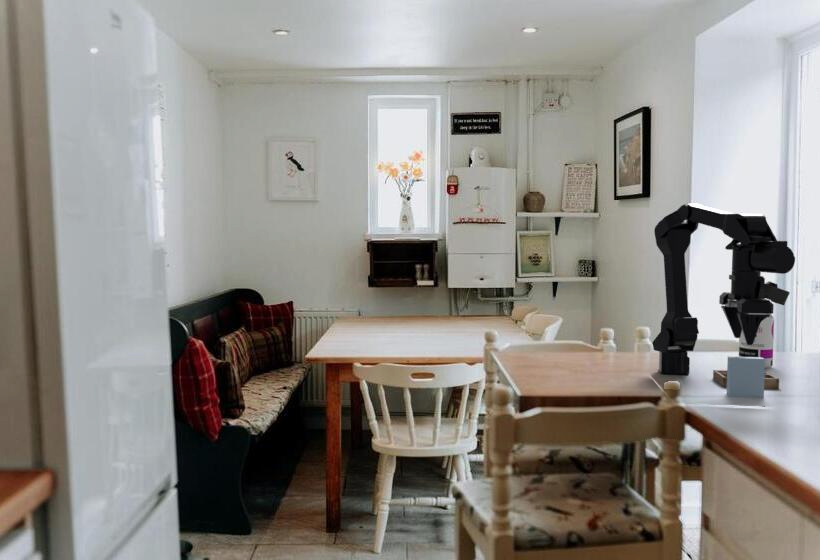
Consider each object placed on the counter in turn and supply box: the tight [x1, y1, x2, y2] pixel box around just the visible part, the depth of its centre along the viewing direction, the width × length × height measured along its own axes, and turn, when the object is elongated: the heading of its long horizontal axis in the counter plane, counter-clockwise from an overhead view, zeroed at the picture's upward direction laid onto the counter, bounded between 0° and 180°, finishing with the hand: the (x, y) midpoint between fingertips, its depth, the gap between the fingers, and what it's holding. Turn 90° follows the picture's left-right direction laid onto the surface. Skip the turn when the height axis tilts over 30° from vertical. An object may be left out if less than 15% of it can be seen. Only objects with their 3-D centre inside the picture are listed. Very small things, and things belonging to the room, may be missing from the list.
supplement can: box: [738, 314, 775, 369], centre depth 183 cm, size 8×8×15 cm
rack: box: [711, 369, 782, 391], centre depth 160 cm, size 12×11×3 cm
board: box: [726, 355, 766, 398], centre depth 148 cm, size 7×2×9 cm, turn 80°
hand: (743, 341), depth 150 cm, fingers open, 9 cm apart
